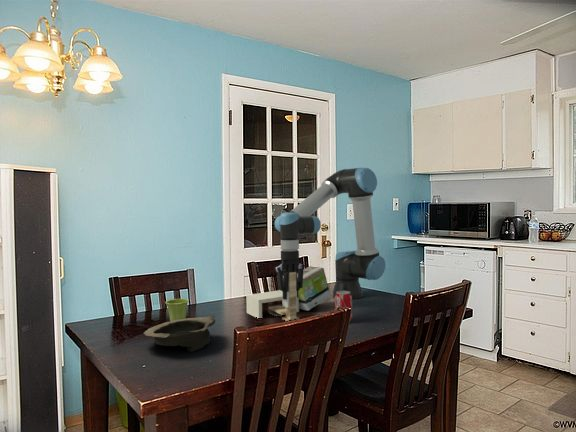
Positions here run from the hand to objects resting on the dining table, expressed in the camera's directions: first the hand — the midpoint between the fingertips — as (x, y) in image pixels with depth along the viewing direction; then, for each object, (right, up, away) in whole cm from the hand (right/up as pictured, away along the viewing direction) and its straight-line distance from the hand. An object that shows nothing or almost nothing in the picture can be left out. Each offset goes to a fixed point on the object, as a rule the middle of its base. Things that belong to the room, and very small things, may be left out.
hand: (290, 306), depth 183 cm
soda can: (+22, -6, -2) cm, 22 cm away
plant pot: (-47, -7, +2) cm, 48 cm away
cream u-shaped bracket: (-8, -6, +14) cm, 17 cm away
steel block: (-5, -6, +10) cm, 13 cm away
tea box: (+10, -2, +20) cm, 23 cm away
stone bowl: (-39, -8, -28) cm, 48 cm away
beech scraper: (-3, -5, +6) cm, 8 cm away
